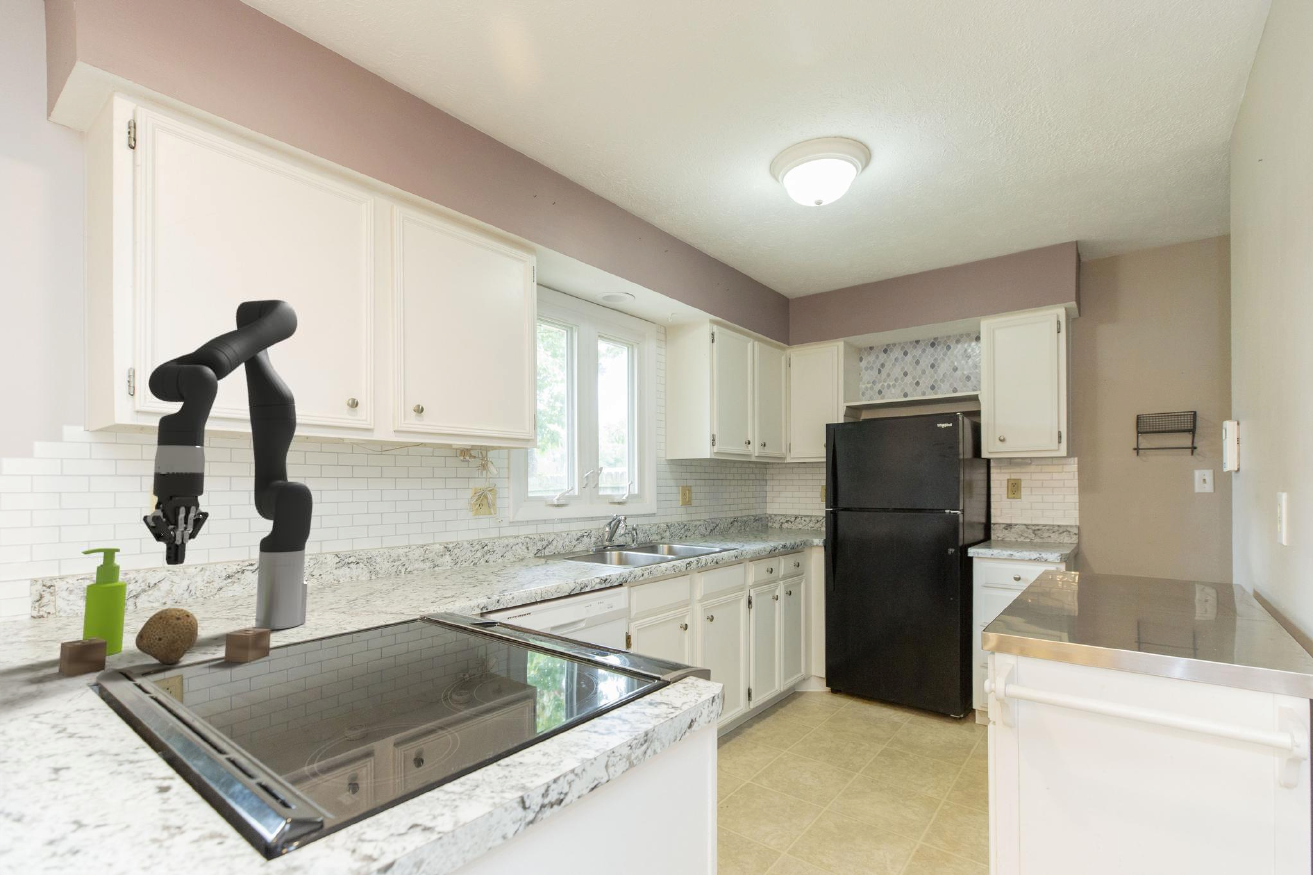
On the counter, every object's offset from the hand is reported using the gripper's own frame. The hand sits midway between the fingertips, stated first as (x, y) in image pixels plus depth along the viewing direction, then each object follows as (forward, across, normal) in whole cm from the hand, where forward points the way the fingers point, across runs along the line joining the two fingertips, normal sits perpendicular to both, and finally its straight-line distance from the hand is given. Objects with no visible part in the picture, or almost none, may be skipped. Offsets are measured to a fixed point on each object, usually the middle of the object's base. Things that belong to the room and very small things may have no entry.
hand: (175, 564), depth 117 cm
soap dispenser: (+18, -4, -18) cm, 26 cm away
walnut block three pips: (+18, +6, -11) cm, 22 cm away
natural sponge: (+18, +1, 0) cm, 18 cm away
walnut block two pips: (+18, -4, +12) cm, 22 cm away
